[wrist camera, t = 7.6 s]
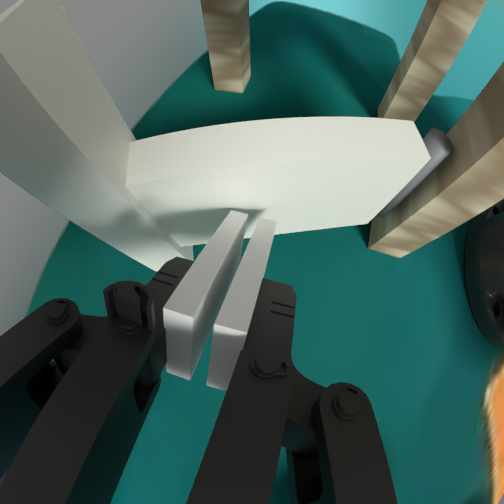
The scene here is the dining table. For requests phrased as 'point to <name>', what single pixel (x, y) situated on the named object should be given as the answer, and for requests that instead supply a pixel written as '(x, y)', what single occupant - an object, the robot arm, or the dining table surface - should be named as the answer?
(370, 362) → the dining table surface
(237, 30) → the stool
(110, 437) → the robot arm
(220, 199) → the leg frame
